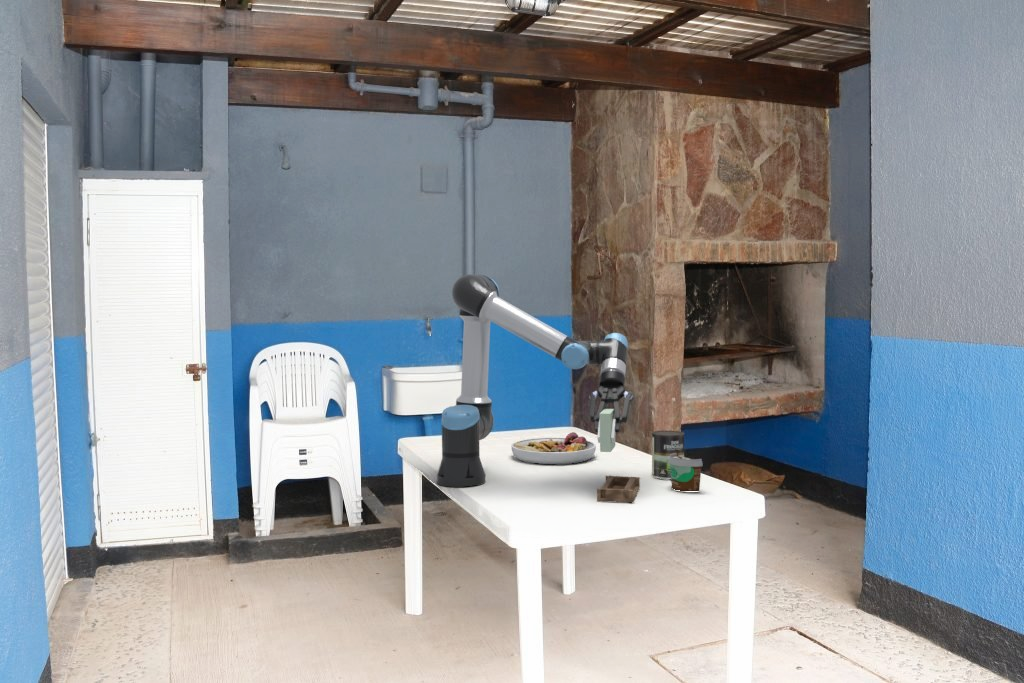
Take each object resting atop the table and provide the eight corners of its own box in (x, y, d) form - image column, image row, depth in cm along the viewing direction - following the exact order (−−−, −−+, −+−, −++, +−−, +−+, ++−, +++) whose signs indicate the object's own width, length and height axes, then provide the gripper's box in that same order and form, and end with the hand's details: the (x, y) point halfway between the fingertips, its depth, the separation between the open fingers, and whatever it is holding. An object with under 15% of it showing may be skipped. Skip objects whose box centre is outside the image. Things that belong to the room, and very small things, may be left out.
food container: (659, 487, 256) (659, 454, 256) (674, 484, 259) (675, 452, 259) (686, 495, 246) (686, 461, 245) (702, 493, 249) (702, 459, 248)
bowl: (565, 470, 283) (565, 447, 283) (494, 460, 301) (494, 438, 301) (611, 456, 307) (611, 434, 307) (543, 447, 325) (543, 427, 325)
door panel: (599, 451, 243) (599, 413, 243) (604, 445, 253) (604, 408, 252) (611, 452, 242) (610, 413, 242) (615, 445, 252) (614, 408, 251)
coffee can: (690, 478, 268) (690, 434, 267) (660, 481, 265) (660, 436, 264) (675, 472, 278) (675, 429, 277) (646, 474, 275) (646, 431, 274)
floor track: (597, 501, 240) (596, 489, 240) (606, 487, 257) (606, 475, 257) (632, 503, 237) (632, 490, 237) (639, 488, 255) (639, 477, 254)
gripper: (640, 384, 260) (635, 448, 244) (587, 384, 264) (579, 447, 248) (638, 368, 254) (633, 432, 239) (584, 369, 258) (576, 432, 243)
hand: (606, 440), depth 244 cm, fingers closed on door panel, 3 cm apart
